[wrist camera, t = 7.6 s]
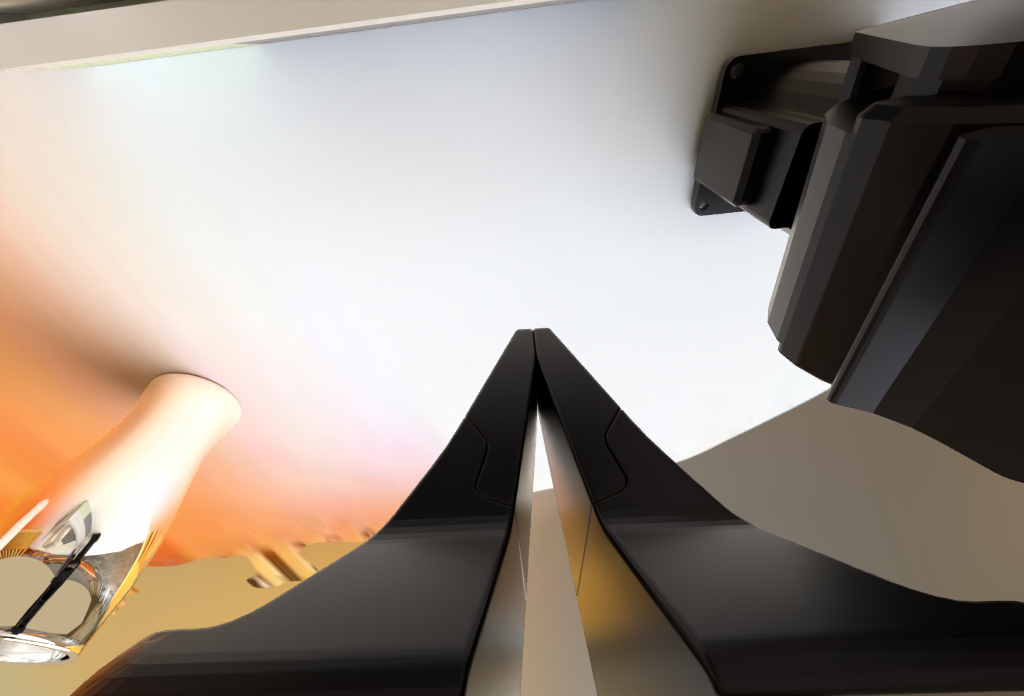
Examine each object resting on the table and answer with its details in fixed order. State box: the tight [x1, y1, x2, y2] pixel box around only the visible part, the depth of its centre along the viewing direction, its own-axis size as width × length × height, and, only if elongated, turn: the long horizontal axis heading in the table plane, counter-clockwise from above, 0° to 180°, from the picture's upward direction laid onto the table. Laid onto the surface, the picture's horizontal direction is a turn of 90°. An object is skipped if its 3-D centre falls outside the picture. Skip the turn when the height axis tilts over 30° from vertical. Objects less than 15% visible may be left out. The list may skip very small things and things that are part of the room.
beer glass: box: [0, 373, 242, 666], centre depth 22 cm, size 7×7×15 cm
